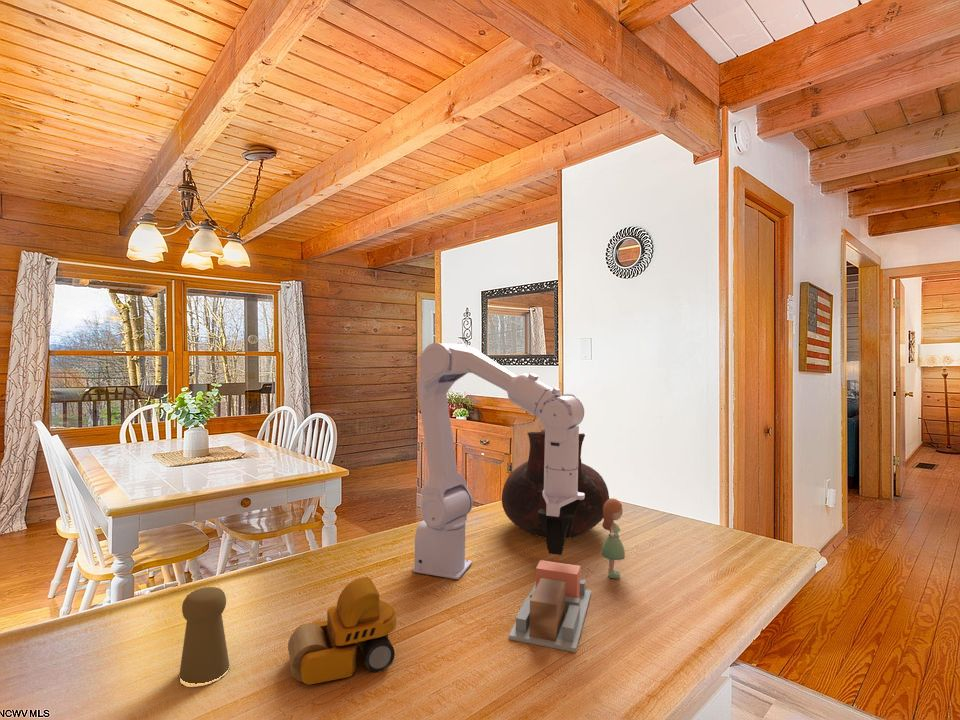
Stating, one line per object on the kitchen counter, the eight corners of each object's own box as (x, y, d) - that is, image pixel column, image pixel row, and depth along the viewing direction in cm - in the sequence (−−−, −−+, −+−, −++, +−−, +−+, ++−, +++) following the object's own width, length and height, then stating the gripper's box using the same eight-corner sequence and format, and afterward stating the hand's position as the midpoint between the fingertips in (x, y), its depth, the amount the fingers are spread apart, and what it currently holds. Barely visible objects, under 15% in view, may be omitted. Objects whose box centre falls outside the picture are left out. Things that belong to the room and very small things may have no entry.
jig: (508, 639, 80) (509, 622, 80) (536, 584, 98) (536, 570, 98) (575, 652, 76) (576, 634, 76) (591, 593, 94) (591, 579, 94)
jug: (608, 518, 135) (610, 420, 134) (608, 558, 110) (611, 438, 109) (510, 510, 140) (512, 416, 139) (491, 545, 116) (493, 432, 115)
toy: (626, 593, 95) (628, 510, 94) (601, 591, 96) (603, 508, 95) (622, 563, 108) (623, 490, 107) (600, 561, 109) (601, 488, 108)
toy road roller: (286, 656, 75) (286, 583, 74) (386, 634, 81) (387, 566, 80) (292, 695, 67) (292, 613, 66) (403, 667, 73) (404, 591, 72)
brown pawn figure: (191, 659, 73) (191, 581, 73) (236, 658, 74) (236, 580, 74) (169, 688, 67) (169, 603, 67) (219, 686, 68) (218, 602, 67)
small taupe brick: (529, 636, 79) (529, 600, 79) (540, 610, 87) (541, 577, 87) (555, 641, 78) (556, 605, 78) (564, 615, 86) (565, 581, 85)
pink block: (535, 599, 91) (536, 568, 90) (539, 590, 94) (540, 560, 94) (576, 607, 88) (577, 574, 88) (579, 597, 92) (580, 565, 92)
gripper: (578, 479, 82) (576, 565, 83) (590, 459, 96) (588, 533, 96) (534, 474, 84) (532, 559, 85) (551, 456, 98) (549, 528, 99)
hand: (559, 545), depth 91 cm, fingers open, 7 cm apart
